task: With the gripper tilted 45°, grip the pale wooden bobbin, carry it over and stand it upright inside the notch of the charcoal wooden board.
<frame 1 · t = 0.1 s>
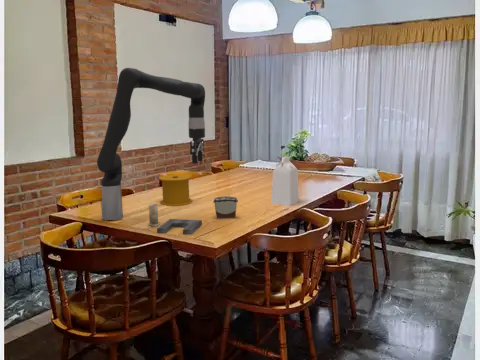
hand: (197, 162, 208), 29 cm above the table, tool pointing down, fingers open, 8 cm apart
bobbin: (154, 225, 209), on the table
milk: (285, 203, 251), on the table
notched board: (180, 228, 203), on the table
spool: (176, 202, 256), on the table
food container: (225, 217, 222), on the table
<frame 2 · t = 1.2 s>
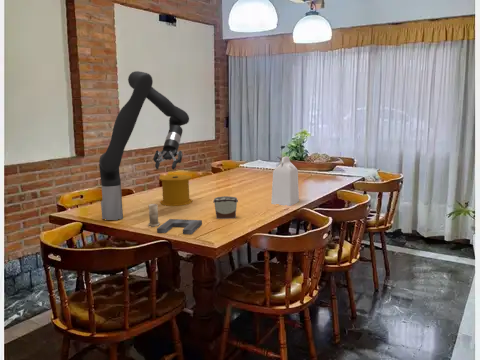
hand: (164, 168, 220), 25 cm above the table, tool tilted 45°, fingers open, 8 cm apart
nothing on the table moved.
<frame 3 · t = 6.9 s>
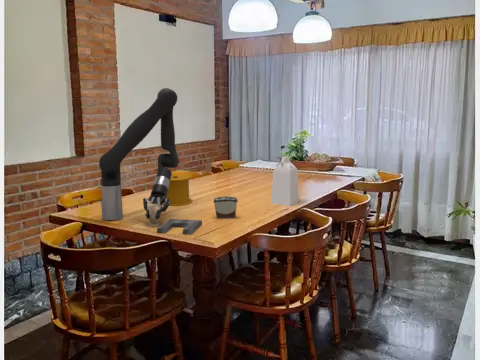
hand: (152, 218, 207), 4 cm above the table, tool tilted 45°, fingers closed on bobbin, 4 cm apart
bobbin: (154, 225, 209), on the table, touching gripper
everything else where it was.
when the fingers open (5 cm above the table, at t = 13.6 s): bobbin drops 1 cm, resting in notched board.
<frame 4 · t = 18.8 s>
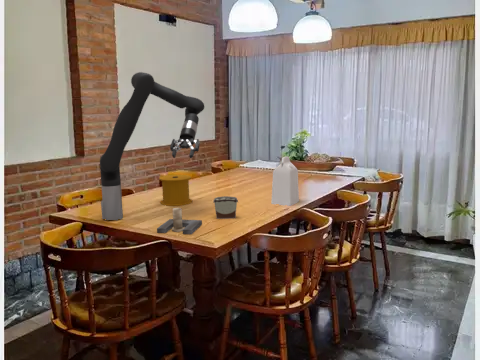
hand: (182, 157, 216), 31 cm above the table, tool tilted 45°, fingers open, 8 cm apart
bobbin: (178, 230, 201), resting in notched board
everything else where it was.
at the end: bobbin 0.1 cm from the target spot on the notched board, point 0.0 cm above the notched board's base; bobbin tilted 0°; the gripper is holding nothing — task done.
